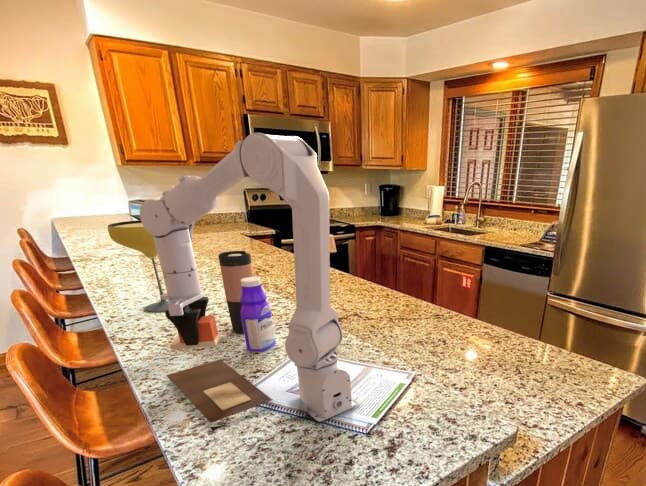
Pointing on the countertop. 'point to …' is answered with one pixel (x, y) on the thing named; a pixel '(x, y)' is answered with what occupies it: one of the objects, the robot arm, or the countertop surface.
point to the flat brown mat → (217, 390)
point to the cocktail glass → (138, 249)
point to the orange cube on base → (201, 335)
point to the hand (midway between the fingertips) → (195, 339)
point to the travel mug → (235, 282)
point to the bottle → (256, 316)
